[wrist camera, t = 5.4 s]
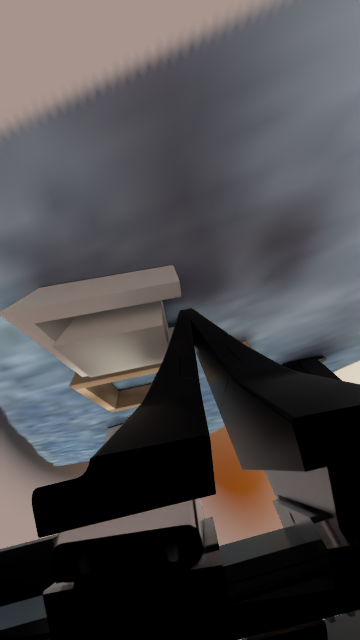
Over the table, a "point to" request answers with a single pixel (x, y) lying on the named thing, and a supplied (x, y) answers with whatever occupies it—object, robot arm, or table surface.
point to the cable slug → (116, 339)
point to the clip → (87, 303)
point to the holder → (114, 388)
